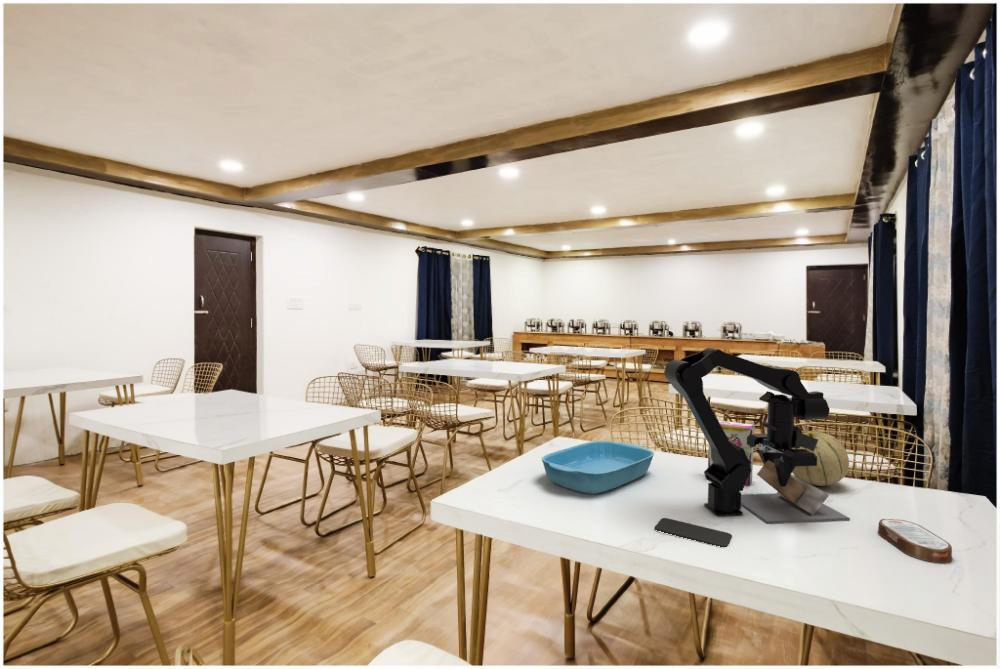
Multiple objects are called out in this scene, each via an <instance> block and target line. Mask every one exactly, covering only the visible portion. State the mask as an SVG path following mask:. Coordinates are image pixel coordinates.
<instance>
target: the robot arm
mask: <svg viewBox="0 0 1000 669" xmlns="http://www.w3.org/2000/svg"><path fill="white" fill-rule="evenodd" d="M715 368H721V369H723V370H726V371H730V372H733V373H735V374H739V375H741V376H744V377H746V378H750V379H752V380H754V381H756V382H757V383H758V384H760V385H761V386H763V387H765V388H767V389H769V390H770V391H768V390H767V391H766V392H765V393H764V394H763V395H761V396H760V397H759V399H758V400H759V401H762V402H765V403H767V419H766V420H767V421H766V422H765V421H764V422H763V423H762V424H763V428H766V433H754V434H750V435H749V436H748V437H747V445H749V446H751V447H753V448H755V447H757V445H758V446H759V449H756V453H757V454H758V455H759V457H760V460H761V461H762V463H763V465H764V464H765V463H766V462H767V461H768V460H769V461H771V462H773V463H775V467H776V471H777V475H778V479H779V483H780V486H782V487H784V486H786V484H787V482H788V480H789V478H790V475H792V474H793V473H792V471H793V470H794V468H795V467H796V466H817V461H818V457H817V456H816V455H815V454H814V453H812V452H810V451H813V452H814V450H815V448H816V445H817V442H818V439H815V438H813V437H810V436H807V435H805V434H802V433H803V429H801V428H800V427H799V426H798V425H796V424H795V419H796V420H799V421H817V420H818V421H820V420H821V421H824V420H826V419H827V418H828V417H829V415H830V411H831V410H830V407H829V404H828V401H827V399H826V398H825V397H824V392H822V391H817V390H815V391H813V390H812V391H808V390H807V388H806V387H805V385H804V384H803V383H802V381H801V380H802V379H801V376H800V374H799V372H797V371H795V370H793V369H788V368H782V367H777V366H772V365H771V366H770V365H763V364H760V363H757V362H754V361H751V360H748V359H745V358H742V357H739V356H737V355H734V354H730V353H729V352H725V351H723V350H721V349H718V348H714V347H706V348H704V349H703V350H700V351H699V352H696V353H693V354H691V355H687V356H685V357H683V358H680V359H672V360H671V361H669V362H667V364H666V366H665V369H664V371H663V372H664V374H663V375H664V377H665V379H666V380H667V381H668V382H669V384H670V385H671V386H672V388H673V389H674V390H675V391H676V392H678V394H679V395H680V396H682V398H683V399H684V400H685V402H686V404H687V406H688V408H689V410H690V412H691V414H692V415H693V418H694V419H695V421H696V423H697V425H698V426H699V428H700V430H701V432H702V434H703V436H704V437H705V439H706V441H707V444H708V446H709V445H710V447H711V458H712V461H713V463H712V464H711V465H710V466H709V467H708V466H707V468H706V469H705V470H704V472H703V474H704V476H705V480H707V481H708V484H707V485H708V486H707V487H708V488H707V502H706V503H704V507H706V509H708V510H709V511H710V512H712V513H714V514H715V516H719V517H720V516H721V517H722V516H723V517H724V516H742V515H743V514H744V512H743V511H741V509H742V506H741V495H742V492H743V491H744V488H745V486H746V485H745V483H746V481H747V479H748V477H749V476H750V473H751V467H750V465H749V464H751V463H752V462H751V461H749V459H748V458H747V456H746V453H745V450H744V449H743V448H742V447H740V446H737V445H735V444H733V443H731V442H729V440H728V438H727V436H726V434H725V432H724V430H723V428H722V427H721V425H720V423H719V421H718V420H719V419H718V417H717V416H716V414H715V412H714V410H713V408H712V405H710V403H709V400H708V399H707V397H706V395H705V393H704V381H703V377H706V376H708V375H709V374H710V373H711V372H712V371H713V370H714V369H715ZM771 391H774V392H778V393H780V394H774V392H771ZM788 396H791V397H788ZM800 446H801V447H803V448H807V449H810V451H808V450H805V449H792V448H800Z"/></svg>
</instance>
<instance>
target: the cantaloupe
mask: <svg viewBox="0 0 1000 669" xmlns="http://www.w3.org/2000/svg"><path fill="white" fill-rule="evenodd" d="M802 434H805V435H807V436H810V437H813V438H815V439H818V442H817V445H816V448H815V450H814V452H813V451H810V449H807V448H803V447H801V446H800V448H792V449H805V450H808V451H810V452H812V453H814V454H815V455H816V456H817V457H818V461H817V466H796V467H795V468H794V470H793V471H792V473H791V474H792V475H793V476H795V477H797V478H799V479H801V480H803V481H805V482H807V483H808V484H810V485H812V486H815V487H816V486H817V487H827V486H832V485H834V484H836V483H839V482H840V481H842V480H843V479H844V478H845V477H846V475H847V473H848V472H849V467H850V460H849V458H850V457H849V455H848V452H847V449H846V448H845V446H844V445H843V443H841V441H839V440H838V439H837V438H835V437H834V436H833V435H831V434H828V433H825V432H821V431H808V432H804V433H803V432H802Z"/></svg>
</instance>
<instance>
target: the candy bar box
mask: <svg viewBox="0 0 1000 669" xmlns="http://www.w3.org/2000/svg"><path fill="white" fill-rule="evenodd" d="M718 421H719V423H720V425H721V427H722V428H723V430H724V432H725V434H726V436H727V438H728V440H729V442H731V443H733V444H735V445H737V446H740V447H742V448H743V449H744V450H745V453H746V456H747V458H748V459H749V461H751V462H752V463H751V464H749V465H750V467H751V473H750V476H749V477H748V479H747V481H746V483H745V486H747V487H750V486H751V484H752V482H753V472H754V471H753V464H754V447H751V446H749V445H747V437H748V436H749V435H750V434H755V424H750V423H744V422H743V423H741V422H734V421H726V420H719V419H718ZM707 456H708V458H707V468H708V467H709V466H710V465H711V464H712V463H713V461H712V458H711V447H710V445H709V444H708V454H707Z"/></svg>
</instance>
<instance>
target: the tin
mask: <svg viewBox="0 0 1000 669" xmlns="http://www.w3.org/2000/svg"><path fill="white" fill-rule="evenodd" d="M877 533H878V536H880V537H882V538H883V540H886V541H887V542H889V543H890V544H891V545H893V546H894V547H896V549H899V550H900V551H901V552H902V553H904V554H905V555H908V556H910V557H912V558H915V559H918V560H921V561H922V560H923V561H926V562H932V563H939V564H943V563H944V564H947V563H951V562H952V561H953V557H952V556H953V548H952V545H951V543H949V542H948V541H947V540H945V539H943V538H941V537H940V536H939V535H937V534H935V533H934V532H932V531H930V530H928V529H927V528H925V527H923V526H922V525H921V524H917V523H915V522H911V521H908V520H905V519H893V518H891V519H890V518H889V519H888V518H881V519H880V520H879V521H878V528H877Z"/></svg>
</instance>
